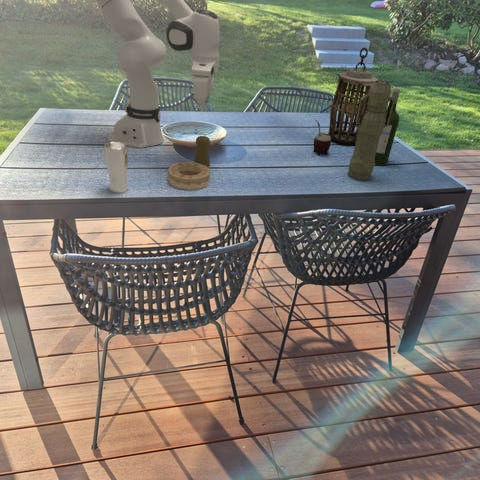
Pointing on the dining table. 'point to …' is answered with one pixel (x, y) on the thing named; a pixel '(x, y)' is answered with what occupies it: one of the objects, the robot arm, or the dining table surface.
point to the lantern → (349, 103)
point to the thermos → (370, 129)
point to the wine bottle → (388, 133)
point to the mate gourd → (321, 142)
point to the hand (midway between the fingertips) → (204, 106)
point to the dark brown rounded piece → (202, 151)
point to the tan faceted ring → (189, 176)
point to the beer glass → (117, 166)
